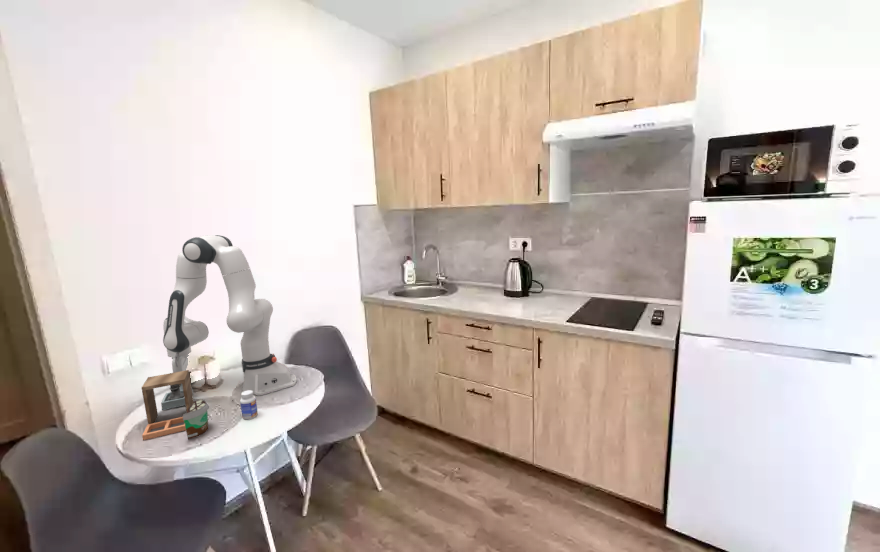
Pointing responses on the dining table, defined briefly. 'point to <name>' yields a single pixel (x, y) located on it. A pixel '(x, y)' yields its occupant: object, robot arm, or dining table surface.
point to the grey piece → (174, 403)
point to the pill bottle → (248, 405)
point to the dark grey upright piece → (175, 392)
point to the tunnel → (161, 382)
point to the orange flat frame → (164, 428)
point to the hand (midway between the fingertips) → (183, 378)
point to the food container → (196, 418)
